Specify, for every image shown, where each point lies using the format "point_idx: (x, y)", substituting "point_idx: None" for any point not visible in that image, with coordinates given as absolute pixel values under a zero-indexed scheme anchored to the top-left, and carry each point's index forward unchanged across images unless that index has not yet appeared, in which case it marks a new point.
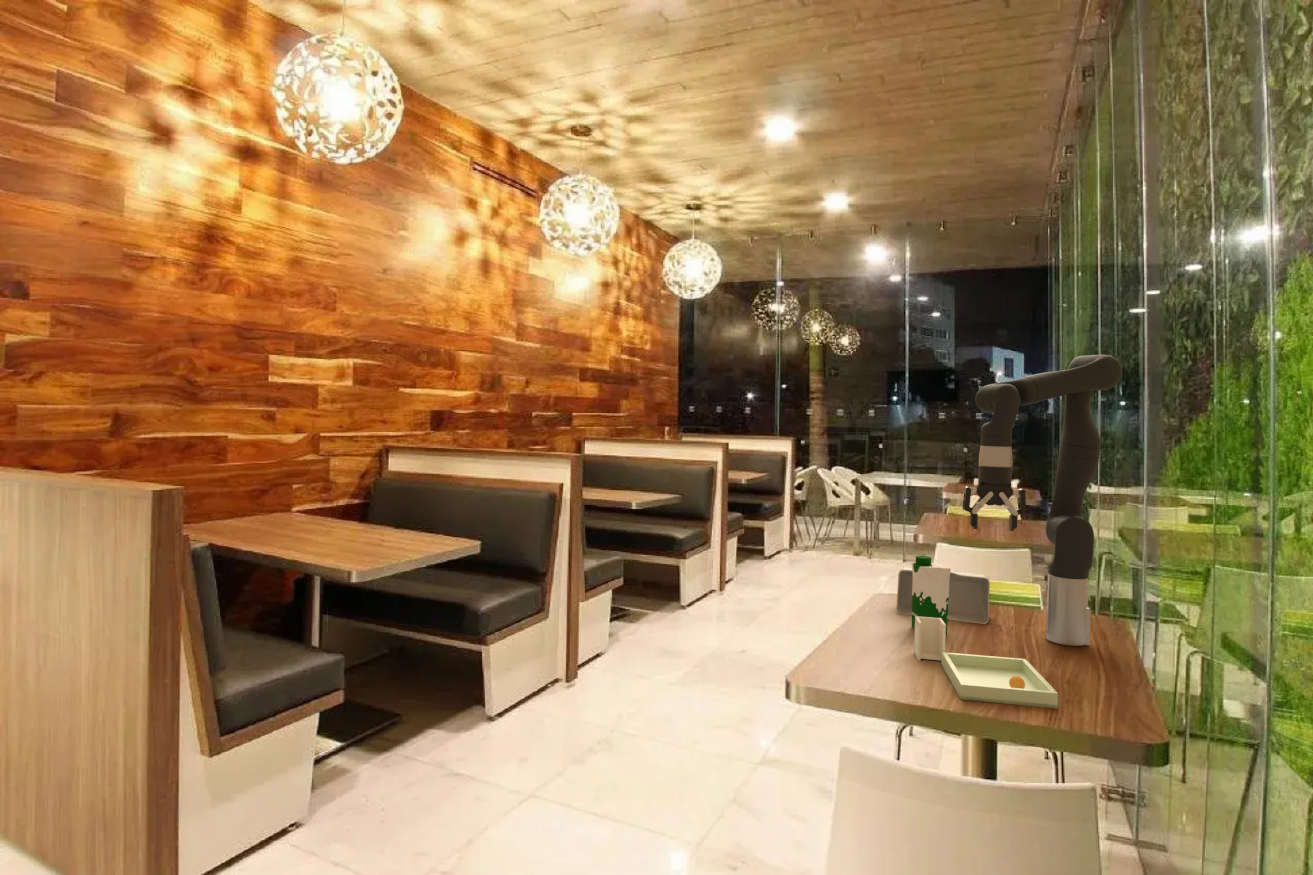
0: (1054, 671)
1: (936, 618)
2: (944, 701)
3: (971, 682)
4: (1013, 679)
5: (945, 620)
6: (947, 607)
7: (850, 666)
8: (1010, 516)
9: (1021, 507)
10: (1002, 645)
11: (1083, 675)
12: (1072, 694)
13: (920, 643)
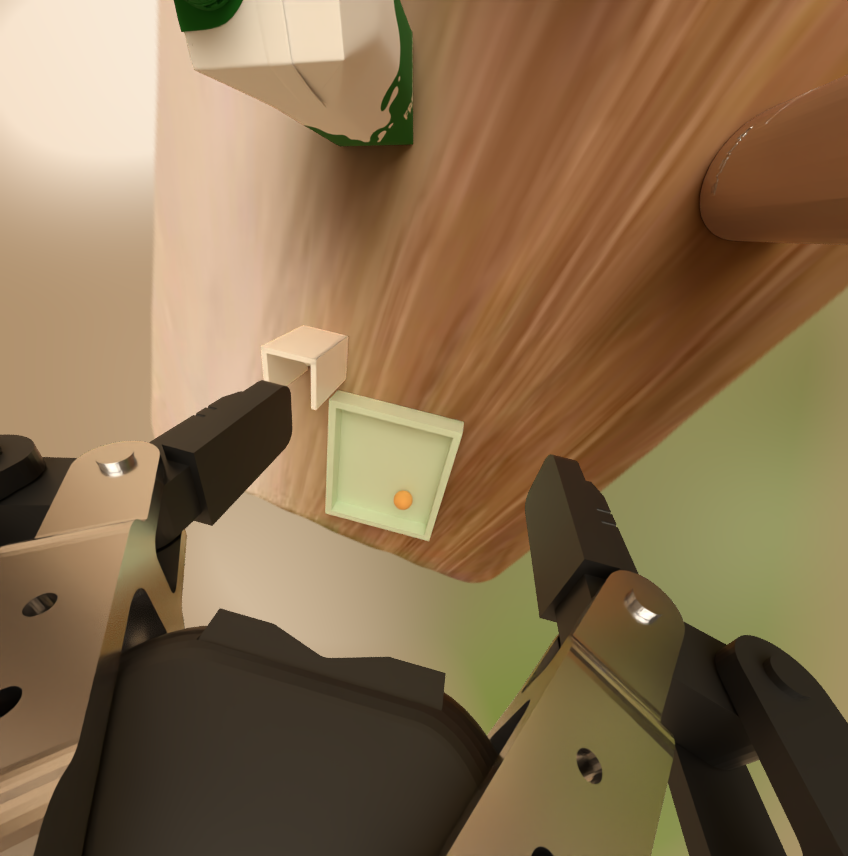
0: (520, 418)
1: (305, 362)
2: (313, 503)
3: (357, 468)
4: (395, 505)
5: (398, 132)
6: (398, 102)
7: (206, 396)
8: (559, 576)
9: (683, 790)
10: (521, 248)
11: (559, 435)
12: (479, 496)
13: (291, 381)
